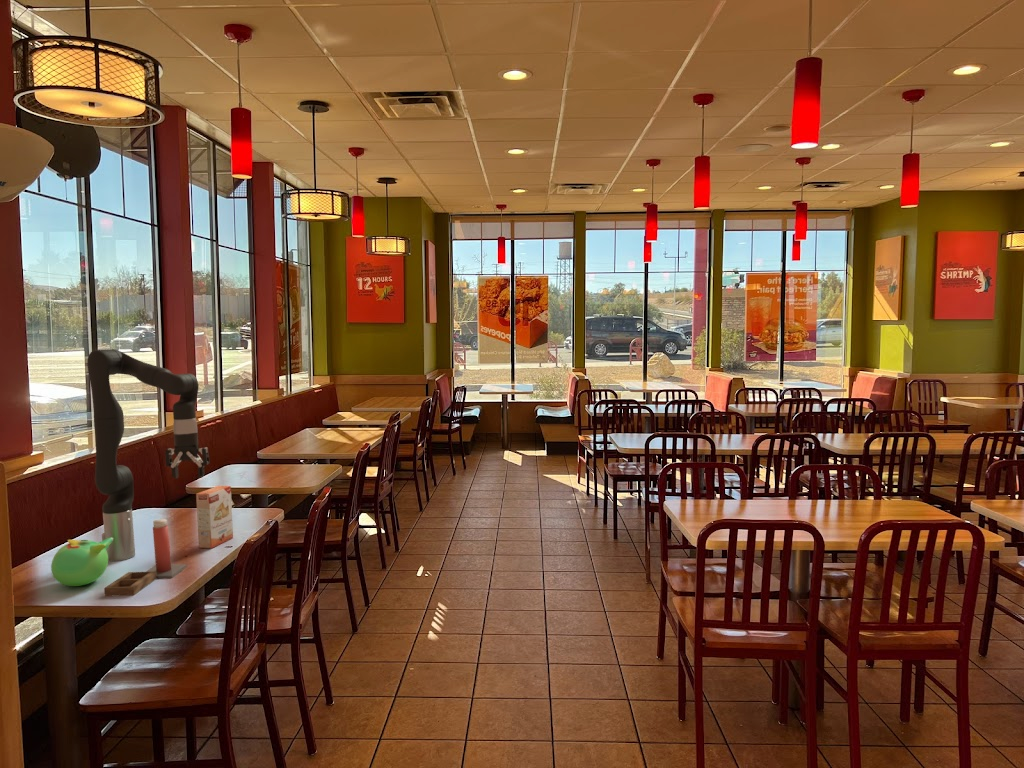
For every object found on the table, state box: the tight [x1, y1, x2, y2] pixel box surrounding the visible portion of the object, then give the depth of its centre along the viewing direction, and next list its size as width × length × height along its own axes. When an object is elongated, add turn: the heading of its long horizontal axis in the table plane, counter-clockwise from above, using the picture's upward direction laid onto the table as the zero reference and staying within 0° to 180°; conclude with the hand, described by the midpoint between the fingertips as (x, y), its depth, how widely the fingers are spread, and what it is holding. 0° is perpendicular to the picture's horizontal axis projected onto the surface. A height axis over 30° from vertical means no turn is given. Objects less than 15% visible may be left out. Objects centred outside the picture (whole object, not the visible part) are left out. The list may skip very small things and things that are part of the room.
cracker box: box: [195, 485, 234, 549], centre depth 270 cm, size 14×6×21 cm, turn 168°
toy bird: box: [50, 537, 113, 587], centre depth 230 cm, size 18×17×15 cm
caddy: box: [103, 571, 157, 597], centre depth 225 cm, size 14×9×2 cm, turn 1°
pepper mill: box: [152, 518, 172, 572], centre depth 238 cm, size 5×5×17 cm
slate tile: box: [145, 563, 188, 579], centre depth 239 cm, size 11×11×1 cm
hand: (188, 477), depth 246 cm, fingers open, 8 cm apart
